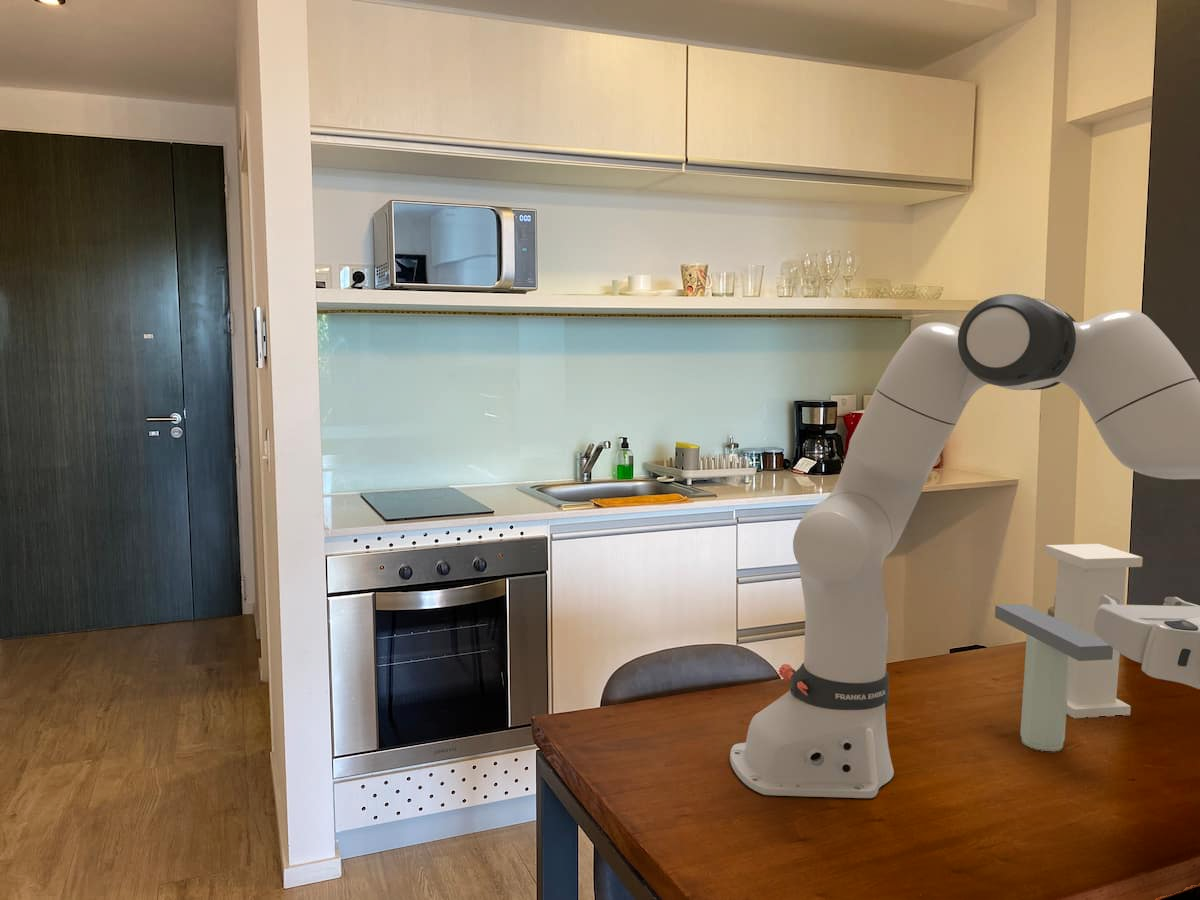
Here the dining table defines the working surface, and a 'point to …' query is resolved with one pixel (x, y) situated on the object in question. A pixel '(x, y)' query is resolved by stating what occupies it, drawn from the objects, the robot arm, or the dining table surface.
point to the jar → (1044, 696)
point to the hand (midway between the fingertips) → (1136, 601)
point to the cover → (1054, 632)
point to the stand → (1090, 620)
